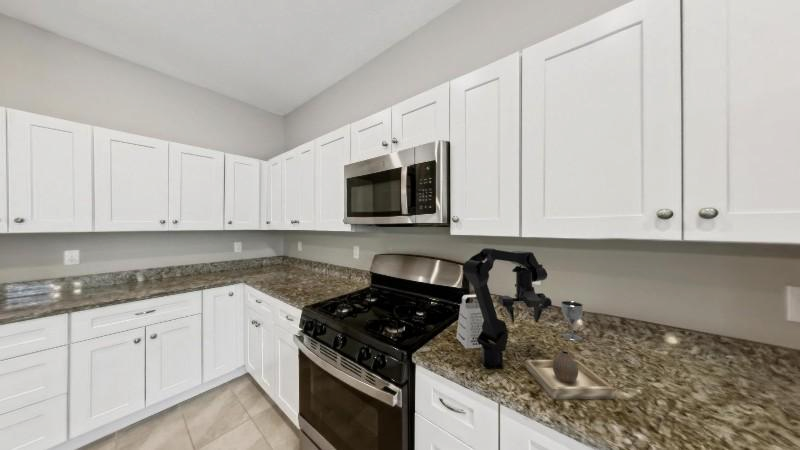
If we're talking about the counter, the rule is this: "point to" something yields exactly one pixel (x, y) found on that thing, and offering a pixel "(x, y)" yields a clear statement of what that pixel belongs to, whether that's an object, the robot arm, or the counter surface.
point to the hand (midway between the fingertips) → (524, 322)
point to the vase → (565, 367)
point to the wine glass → (572, 316)
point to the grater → (469, 323)
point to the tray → (581, 388)
